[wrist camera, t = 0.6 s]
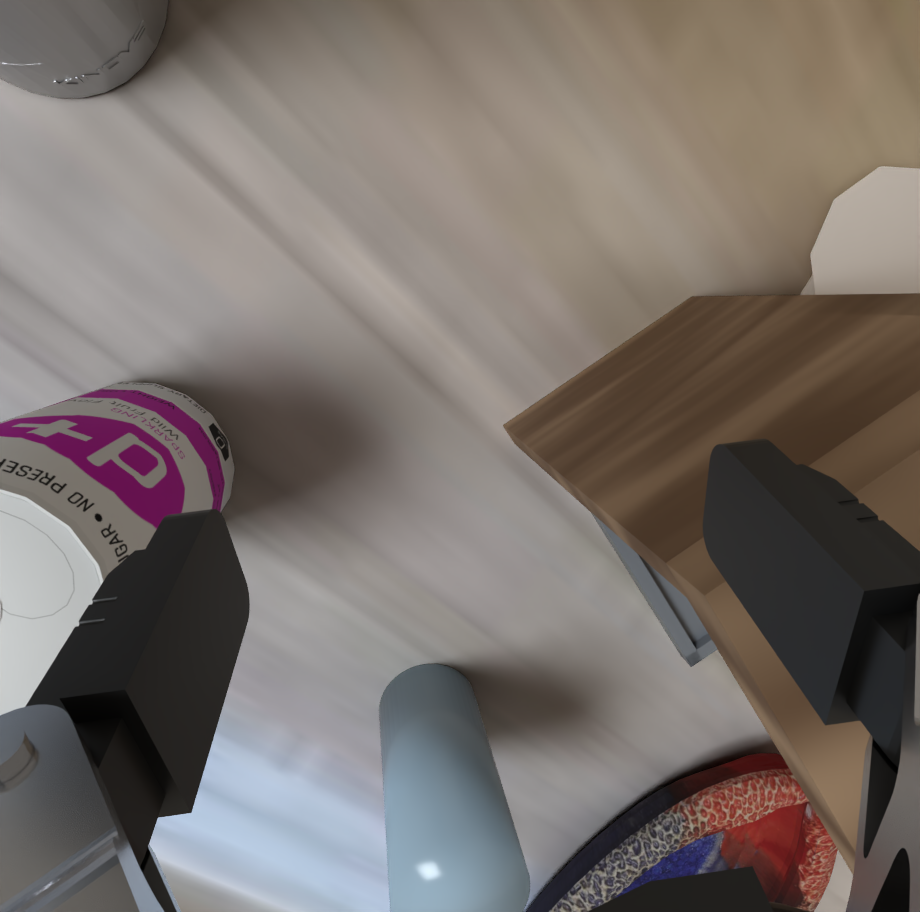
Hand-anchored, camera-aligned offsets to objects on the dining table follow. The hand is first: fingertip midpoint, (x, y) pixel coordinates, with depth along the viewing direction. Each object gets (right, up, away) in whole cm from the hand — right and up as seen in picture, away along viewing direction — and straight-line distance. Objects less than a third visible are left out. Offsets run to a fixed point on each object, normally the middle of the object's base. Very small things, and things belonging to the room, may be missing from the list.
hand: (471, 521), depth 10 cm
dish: (+12, -28, +32) cm, 44 cm away
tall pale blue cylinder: (-2, -13, +26) cm, 29 cm away
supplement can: (-15, +1, +20) cm, 25 cm away
